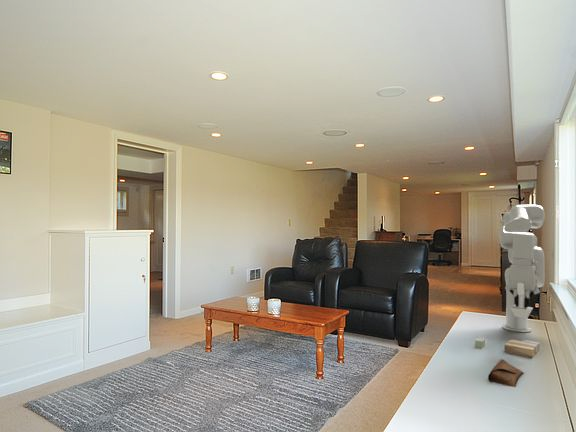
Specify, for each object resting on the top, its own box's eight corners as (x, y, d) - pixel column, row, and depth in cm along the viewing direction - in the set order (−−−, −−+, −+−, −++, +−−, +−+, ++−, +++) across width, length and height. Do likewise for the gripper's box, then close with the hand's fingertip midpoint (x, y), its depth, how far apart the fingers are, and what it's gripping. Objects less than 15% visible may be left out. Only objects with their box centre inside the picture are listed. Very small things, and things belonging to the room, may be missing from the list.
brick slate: (521, 347, 173) (522, 340, 173) (524, 346, 175) (524, 339, 175) (537, 351, 169) (537, 344, 169) (539, 349, 171) (540, 342, 171)
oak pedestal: (510, 346, 174) (511, 339, 174) (537, 351, 168) (537, 344, 168) (504, 351, 166) (504, 344, 166) (532, 357, 160) (532, 350, 160)
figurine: (533, 315, 169) (533, 280, 169) (530, 319, 161) (530, 282, 162) (513, 313, 173) (514, 278, 174) (509, 316, 166) (510, 280, 166)
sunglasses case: (516, 387, 128) (505, 367, 131) (495, 393, 132) (484, 373, 134) (524, 372, 143) (514, 354, 145) (505, 378, 146) (495, 360, 149)
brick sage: (477, 344, 177) (477, 337, 177) (484, 345, 175) (484, 338, 176) (474, 347, 172) (475, 340, 172) (482, 348, 171) (482, 341, 171)
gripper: (546, 263, 165) (546, 308, 165) (503, 260, 176) (502, 302, 176) (543, 264, 160) (542, 311, 159) (498, 261, 170) (498, 305, 170)
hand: (521, 306), depth 167 cm, fingers closed on figurine, 2 cm apart
